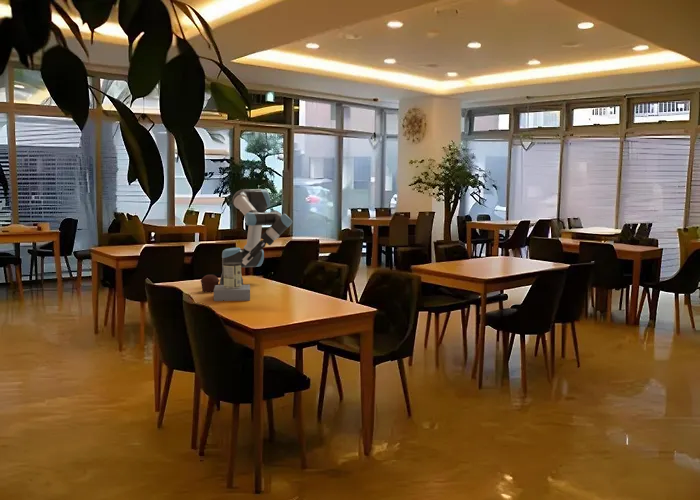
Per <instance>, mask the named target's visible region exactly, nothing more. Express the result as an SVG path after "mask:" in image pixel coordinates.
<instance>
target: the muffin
mask: <svg viewBox="0 0 700 500" xmlns="http://www.w3.org/2000/svg"><path fill="white" fill-rule="evenodd" d="M200 284H201V289H202V293H214V288H215V285H219V284H220V278H219V277H218V276H216V275H215V274H206V275H204V276H203V277H202V278H201V280H200Z"/></svg>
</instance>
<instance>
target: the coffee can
mask: <svg viewBox="0 0 700 500" xmlns="http://www.w3.org/2000/svg"><path fill="white" fill-rule="evenodd" d="M241 264H242V263H241V262H225V263H223V266H224V288H229V289H233V288H241V287H242V286H241V285H243V284H241V275H242V267H241Z"/></svg>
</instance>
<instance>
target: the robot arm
mask: <svg viewBox="0 0 700 500" xmlns="http://www.w3.org/2000/svg"><path fill="white" fill-rule="evenodd" d="M232 204H233V206H234V208H236V209H237V210H239V211H240V212H241V213H242V214H243V216H244V222H245V225H246V226H248V227H247V228H248V230H247V236H246V237H247V238H246V244H245V245H244V246H243V249H241V248H240V247H230V248H225V249H224V250H222V253H221V258H222V259H221V260H222V261H221V264H222V265H221V267H222V270H221V271H222V273H221V276H220V278H219V285H224V266H223V263H225V262H241V263H242V264H241V268H256V267H261V266H262V264H263V263H264V260H265V252H264V248H265V247H266V244H267V245H269V246H271V245H272V244H273V243H274V241H276V240H277V239H280V236H281V235H282V234H283V233H284V232H286V231H287V229H289V227H291V225H292V224H293V220H292V219H291V218H290V217H289V216H288V215H287V214H286V213H281V212H279V211H278V210H274V209H273V210H271V211H269V212H267V209H268V208H270V206H271V197H270V194H269V191H268V190H267V189H262V188H253V189H252V188H243V189H242V188H241V189H240V190H238V191H236V192H235V193H234V195H233V197H232ZM263 226H269V227H268V228H267V229H266V230H265V232H263V233H262V231H263V230H262V228H263ZM241 284H242V285H244V279H243V276H242V274H241Z"/></svg>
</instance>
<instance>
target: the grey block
mask: <svg viewBox="0 0 700 500" xmlns="http://www.w3.org/2000/svg"><path fill="white" fill-rule="evenodd" d="M241 286H242V287H241V288H233V289H229V288H224V285H221V284H218V285H215V288H214V292H213V302H229V301H230V302H232V301H235V302H236V301H241V302H242V301H244V302H245V301H251V284H242V285H241ZM223 300H224V301H223Z"/></svg>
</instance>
